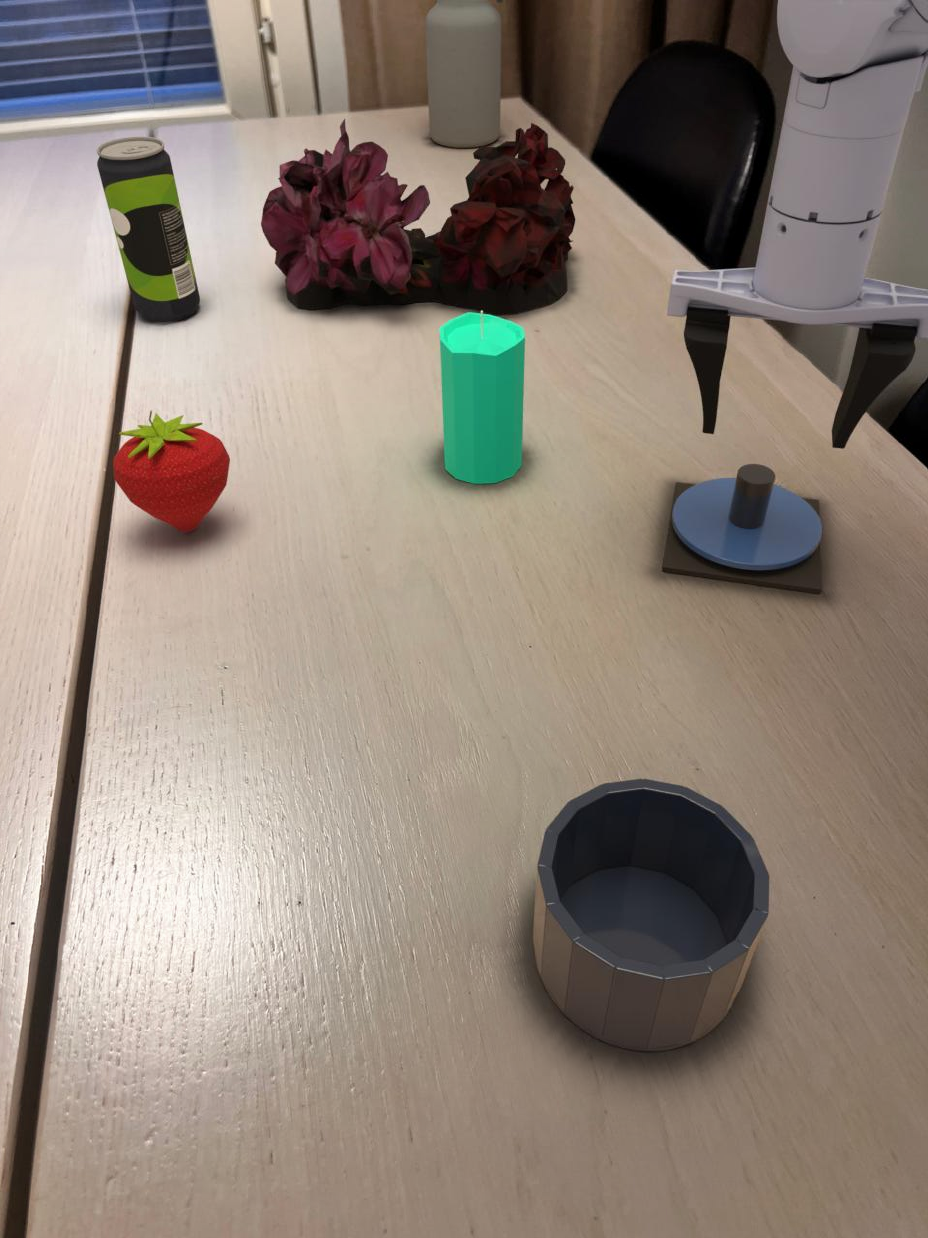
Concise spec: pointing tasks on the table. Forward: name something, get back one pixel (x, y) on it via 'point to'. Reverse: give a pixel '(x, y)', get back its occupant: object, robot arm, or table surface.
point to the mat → (691, 563)
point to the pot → (647, 912)
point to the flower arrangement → (407, 260)
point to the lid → (747, 521)
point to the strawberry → (172, 471)
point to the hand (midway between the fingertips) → (772, 432)
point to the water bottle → (464, 72)
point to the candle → (482, 397)
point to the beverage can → (149, 227)
